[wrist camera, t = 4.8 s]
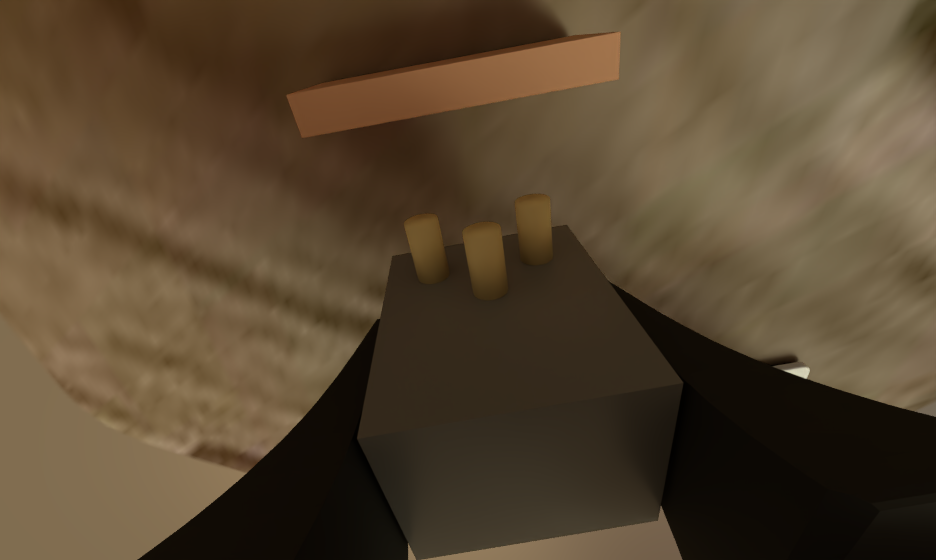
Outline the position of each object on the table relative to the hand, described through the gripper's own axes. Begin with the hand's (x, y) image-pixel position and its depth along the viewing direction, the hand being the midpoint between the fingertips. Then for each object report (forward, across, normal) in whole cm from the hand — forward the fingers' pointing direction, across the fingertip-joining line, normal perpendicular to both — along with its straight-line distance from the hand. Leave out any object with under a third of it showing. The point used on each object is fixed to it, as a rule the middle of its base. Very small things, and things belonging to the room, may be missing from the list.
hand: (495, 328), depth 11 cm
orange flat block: (+6, 0, -6) cm, 8 cm away
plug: (+1, 0, 0) cm, 1 cm away
